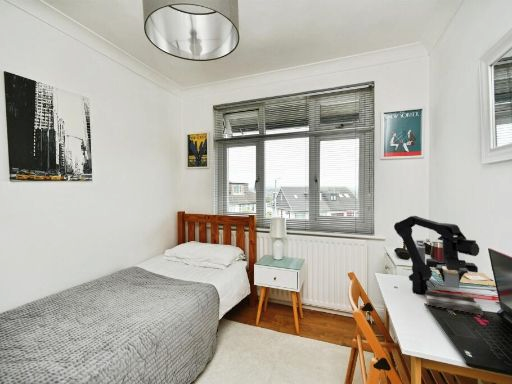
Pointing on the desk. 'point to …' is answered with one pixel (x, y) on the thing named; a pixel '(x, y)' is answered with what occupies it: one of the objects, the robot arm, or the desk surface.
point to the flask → (421, 248)
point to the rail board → (452, 302)
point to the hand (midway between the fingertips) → (450, 282)
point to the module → (451, 279)
